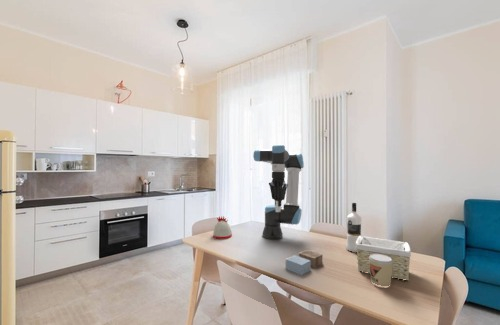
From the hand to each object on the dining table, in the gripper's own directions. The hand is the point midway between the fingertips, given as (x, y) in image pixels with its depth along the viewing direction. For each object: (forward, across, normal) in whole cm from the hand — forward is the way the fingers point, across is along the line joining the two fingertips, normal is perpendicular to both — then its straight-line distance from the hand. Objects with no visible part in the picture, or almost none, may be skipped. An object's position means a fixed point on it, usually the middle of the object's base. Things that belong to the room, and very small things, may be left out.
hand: (278, 211), depth 139 cm
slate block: (+24, +12, -5) cm, 28 cm away
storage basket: (+27, +48, +25) cm, 60 cm away
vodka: (+27, +26, +44) cm, 58 cm away
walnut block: (+24, +12, +7) cm, 28 cm away
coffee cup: (+27, +52, +10) cm, 59 cm away
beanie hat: (+27, -54, +1) cm, 60 cm away
